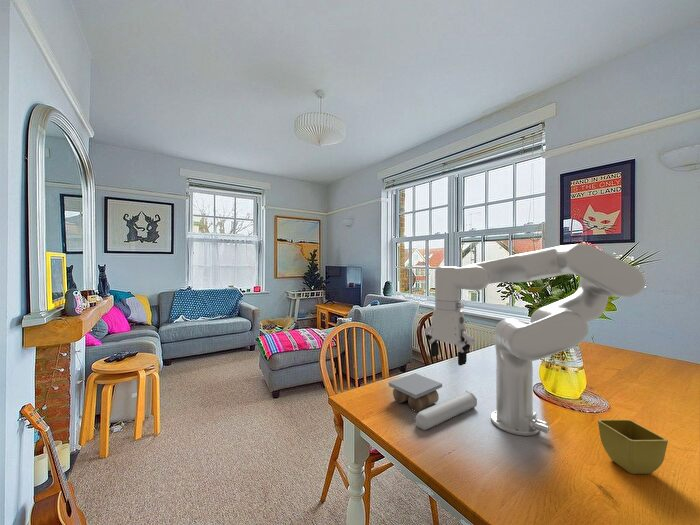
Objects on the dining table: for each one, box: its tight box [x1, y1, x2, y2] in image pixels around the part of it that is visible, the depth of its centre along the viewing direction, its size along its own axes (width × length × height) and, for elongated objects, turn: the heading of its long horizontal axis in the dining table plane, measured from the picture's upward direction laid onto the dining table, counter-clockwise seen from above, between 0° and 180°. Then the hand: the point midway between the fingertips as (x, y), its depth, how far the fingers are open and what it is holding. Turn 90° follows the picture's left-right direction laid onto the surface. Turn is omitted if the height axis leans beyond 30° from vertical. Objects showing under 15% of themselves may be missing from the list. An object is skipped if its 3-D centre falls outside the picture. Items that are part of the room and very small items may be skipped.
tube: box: [414, 390, 478, 431], centre depth 90 cm, size 5×5×25 cm
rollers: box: [392, 388, 440, 412], centre depth 100 cm, size 12×10×5 cm
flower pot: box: [597, 419, 669, 475], centre depth 68 cm, size 9×9×9 cm
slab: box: [388, 373, 443, 399], centre depth 100 cm, size 12×14×1 cm
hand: (447, 360), depth 90 cm, fingers open, 9 cm apart
